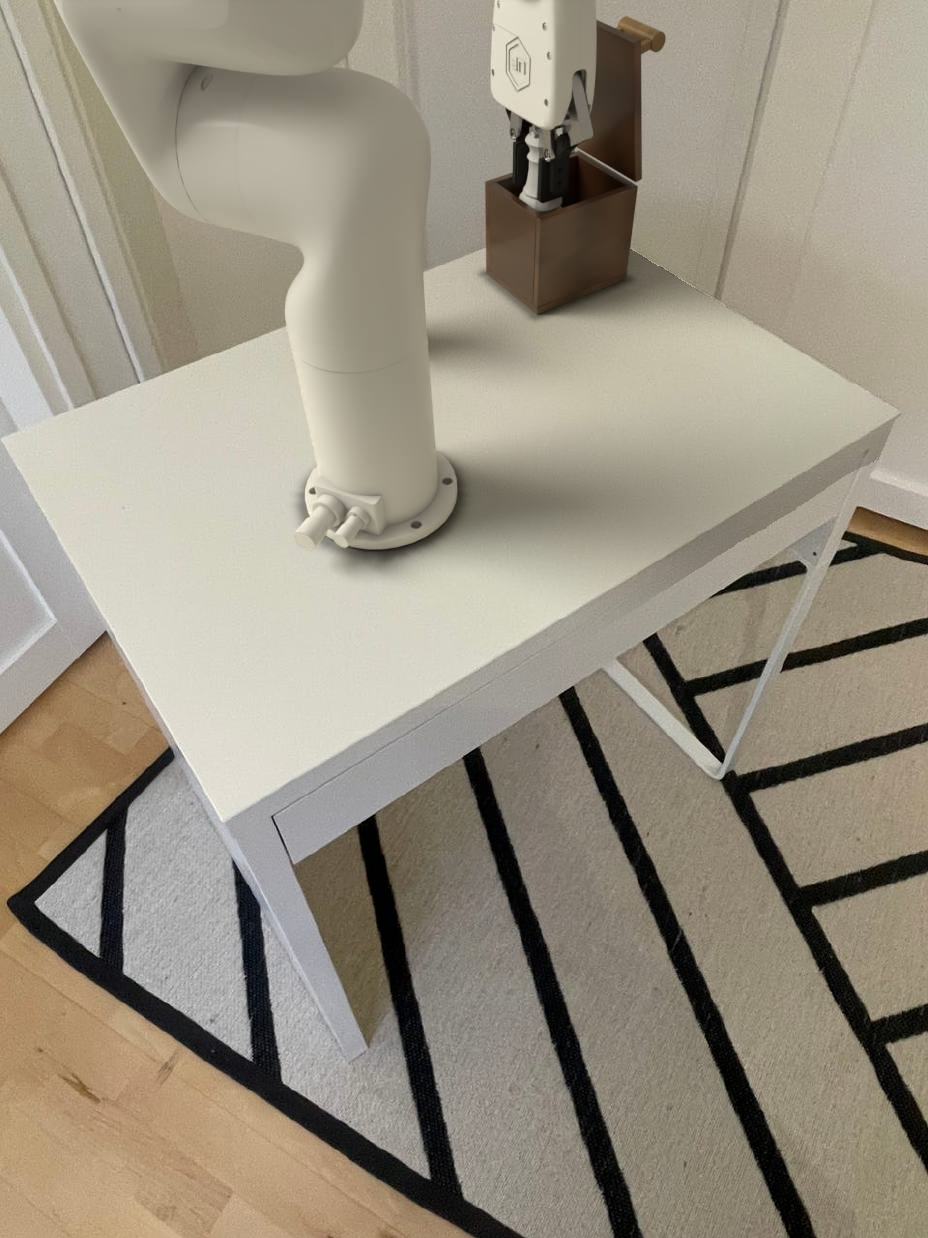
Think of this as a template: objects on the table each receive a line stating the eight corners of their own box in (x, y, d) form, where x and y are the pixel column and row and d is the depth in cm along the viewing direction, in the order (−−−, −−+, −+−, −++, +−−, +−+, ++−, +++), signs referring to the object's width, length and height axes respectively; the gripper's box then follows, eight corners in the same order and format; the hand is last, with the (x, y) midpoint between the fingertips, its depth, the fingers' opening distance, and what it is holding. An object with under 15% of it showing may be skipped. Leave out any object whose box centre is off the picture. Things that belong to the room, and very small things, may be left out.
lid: (634, 43, 73) (684, 16, 73) (566, 12, 78) (614, -13, 79) (635, 182, 83) (679, 157, 84) (576, 147, 88) (618, 124, 89)
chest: (537, 314, 87) (540, 220, 80) (485, 273, 92) (484, 181, 85) (626, 279, 91) (638, 185, 83) (572, 241, 96) (579, 150, 88)
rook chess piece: (555, 228, 83) (560, 141, 77) (511, 222, 84) (512, 135, 78) (567, 206, 86) (572, 120, 80) (524, 200, 87) (526, 115, 81)
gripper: (454, -57, 72) (461, 168, 86) (572, -5, 63) (558, 236, 78) (528, -73, 74) (523, 149, 89) (651, -26, 65) (623, 212, 80)
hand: (539, 187), depth 83 cm, fingers closed on rook chess piece, 3 cm apart
